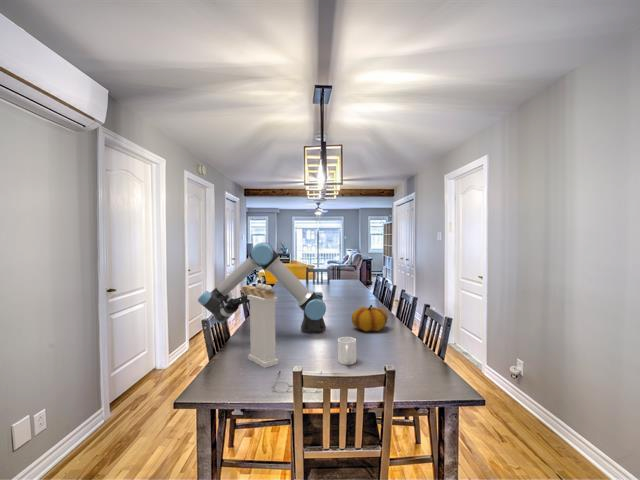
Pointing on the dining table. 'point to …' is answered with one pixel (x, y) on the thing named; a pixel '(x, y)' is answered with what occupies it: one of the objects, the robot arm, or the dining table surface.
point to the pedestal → (262, 331)
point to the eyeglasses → (286, 383)
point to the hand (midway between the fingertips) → (245, 291)
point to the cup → (346, 350)
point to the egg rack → (259, 290)
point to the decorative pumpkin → (369, 318)
